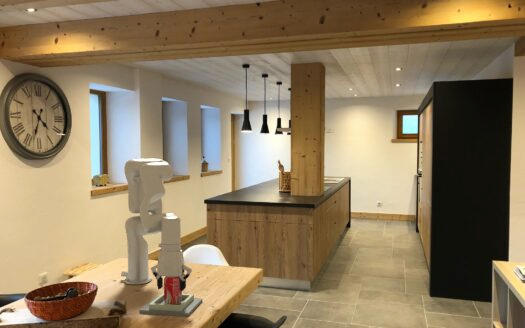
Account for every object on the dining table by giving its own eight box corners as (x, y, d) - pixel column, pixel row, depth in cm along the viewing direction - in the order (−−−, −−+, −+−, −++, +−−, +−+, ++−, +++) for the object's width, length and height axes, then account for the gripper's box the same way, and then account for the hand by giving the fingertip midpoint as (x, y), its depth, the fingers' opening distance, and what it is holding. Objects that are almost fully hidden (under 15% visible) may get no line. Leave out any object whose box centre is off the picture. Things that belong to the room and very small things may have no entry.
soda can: (165, 301, 169) (164, 272, 169) (182, 300, 170) (182, 271, 170) (163, 307, 162) (162, 277, 162) (181, 306, 163) (180, 276, 163)
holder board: (139, 313, 160) (139, 304, 160) (157, 298, 176) (157, 291, 176) (188, 316, 156) (188, 308, 156) (202, 301, 172) (202, 293, 172)
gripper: (146, 248, 163) (147, 290, 164) (188, 250, 160) (188, 293, 161) (155, 243, 171) (155, 284, 171) (194, 245, 167) (195, 287, 168)
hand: (171, 289), depth 166 cm, fingers open, 9 cm apart
